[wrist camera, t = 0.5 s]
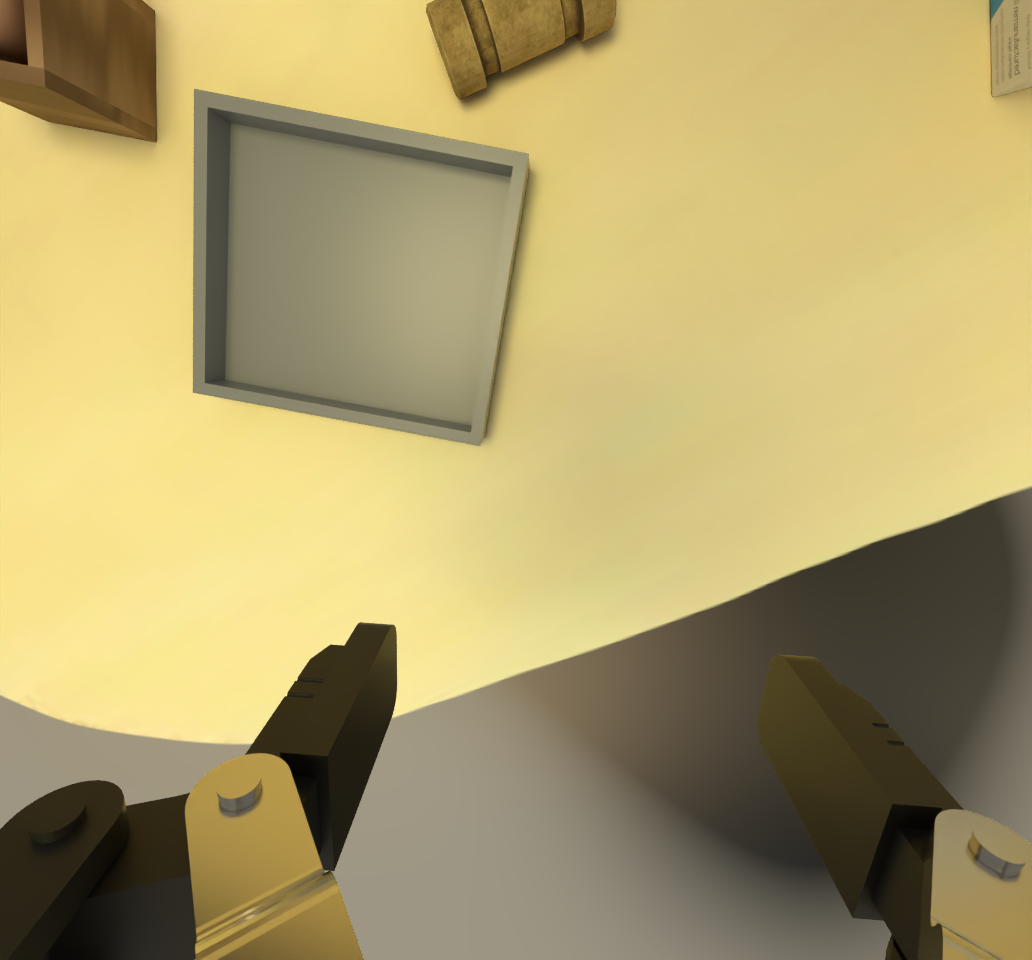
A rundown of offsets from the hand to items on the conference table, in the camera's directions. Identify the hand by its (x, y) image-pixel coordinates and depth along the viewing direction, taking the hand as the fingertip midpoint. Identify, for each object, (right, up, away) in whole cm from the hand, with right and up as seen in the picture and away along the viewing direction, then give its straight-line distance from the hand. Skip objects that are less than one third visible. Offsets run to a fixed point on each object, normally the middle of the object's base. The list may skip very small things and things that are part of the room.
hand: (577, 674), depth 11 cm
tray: (-12, +18, +25) cm, 33 cm away
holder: (-28, +30, +22) cm, 47 cm away
